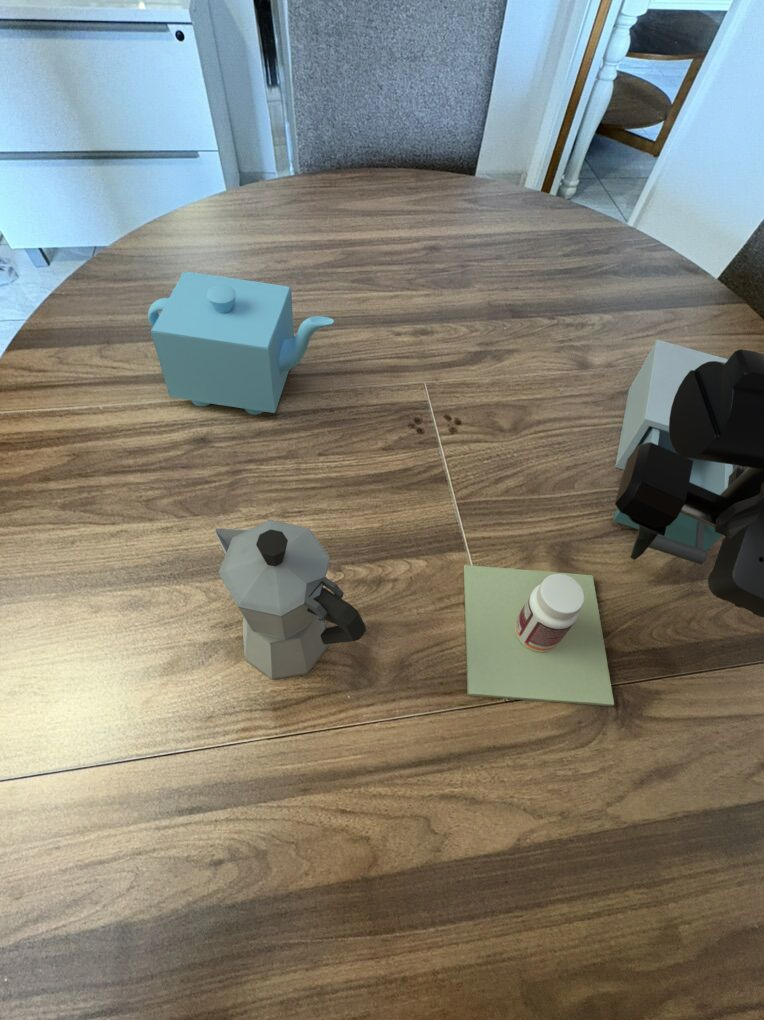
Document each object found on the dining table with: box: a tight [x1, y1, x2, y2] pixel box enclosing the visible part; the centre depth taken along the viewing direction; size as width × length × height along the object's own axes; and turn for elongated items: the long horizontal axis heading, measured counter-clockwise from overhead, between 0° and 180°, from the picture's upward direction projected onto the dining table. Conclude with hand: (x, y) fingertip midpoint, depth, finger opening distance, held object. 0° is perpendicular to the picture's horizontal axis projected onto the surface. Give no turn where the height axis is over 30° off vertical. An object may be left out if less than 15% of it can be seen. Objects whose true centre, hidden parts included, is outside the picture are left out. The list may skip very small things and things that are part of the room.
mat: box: [463, 564, 615, 707], centre depth 62 cm, size 14×14×1 cm
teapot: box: [147, 270, 335, 415], centre depth 74 cm, size 22×11×14 cm, turn 82°
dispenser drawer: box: [612, 426, 733, 565], centre depth 69 cm, size 19×11×7 cm, turn 160°
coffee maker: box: [214, 519, 367, 681], centre depth 53 cm, size 15×9×18 cm, turn 56°
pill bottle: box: [515, 574, 585, 652], centre depth 59 cm, size 5×5×8 cm
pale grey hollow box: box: [614, 339, 739, 472], centre depth 76 cm, size 15×12×9 cm
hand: (684, 578), depth 52 cm, fingers open, 9 cm apart
